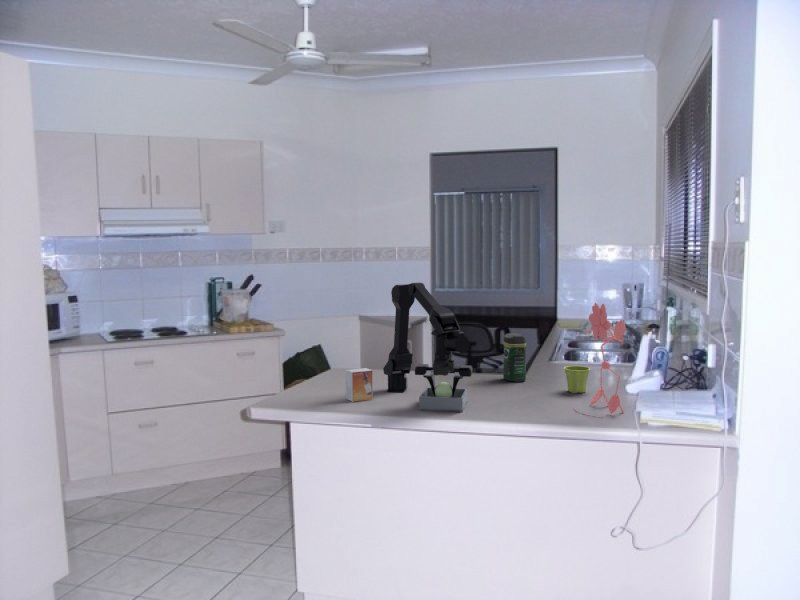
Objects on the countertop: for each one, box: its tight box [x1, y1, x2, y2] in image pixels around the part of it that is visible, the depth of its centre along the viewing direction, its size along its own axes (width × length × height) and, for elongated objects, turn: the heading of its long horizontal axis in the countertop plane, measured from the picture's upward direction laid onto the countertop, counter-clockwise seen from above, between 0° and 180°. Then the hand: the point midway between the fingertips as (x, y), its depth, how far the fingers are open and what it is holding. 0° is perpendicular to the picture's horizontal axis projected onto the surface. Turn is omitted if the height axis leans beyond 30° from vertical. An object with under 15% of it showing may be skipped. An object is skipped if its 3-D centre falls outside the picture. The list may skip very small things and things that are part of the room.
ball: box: [435, 381, 453, 397], centre depth 225 cm, size 6×6×6 cm
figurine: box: [573, 302, 627, 419], centre depth 216 cm, size 15×26×35 cm, turn 11°
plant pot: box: [563, 365, 591, 394], centre depth 244 cm, size 9×9×9 cm
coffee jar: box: [502, 332, 527, 383], centre depth 265 cm, size 10×8×19 cm
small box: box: [345, 367, 374, 403], centre depth 235 cm, size 8×6×10 cm
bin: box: [418, 386, 468, 413], centre depth 225 cm, size 14×14×4 cm
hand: (443, 395), depth 225 cm, fingers closed on ball, 6 cm apart
